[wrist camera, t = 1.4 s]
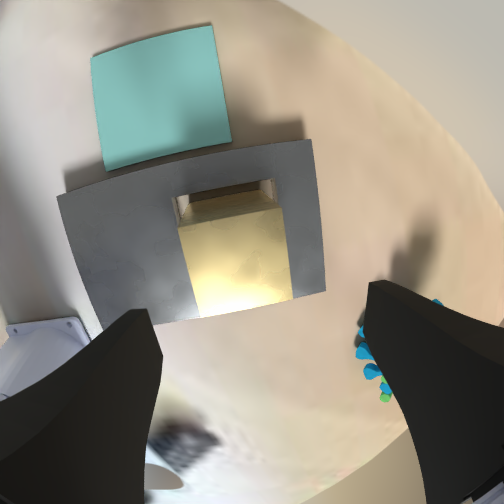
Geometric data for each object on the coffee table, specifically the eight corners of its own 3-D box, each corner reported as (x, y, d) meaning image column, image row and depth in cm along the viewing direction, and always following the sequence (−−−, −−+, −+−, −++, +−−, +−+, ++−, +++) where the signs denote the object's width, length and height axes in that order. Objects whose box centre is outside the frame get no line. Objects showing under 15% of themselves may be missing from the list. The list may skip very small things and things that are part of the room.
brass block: (204, 268, 19) (201, 317, 13) (189, 203, 17) (177, 227, 12) (270, 255, 19) (293, 298, 14) (260, 189, 18) (281, 207, 12)
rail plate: (109, 321, 19) (104, 331, 18) (66, 192, 16) (56, 196, 15) (319, 282, 20) (325, 291, 19) (304, 139, 17) (311, 138, 16)
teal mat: (107, 171, 16) (105, 171, 16) (92, 59, 13) (90, 58, 13) (231, 141, 16) (231, 141, 16) (211, 27, 14) (211, 25, 13)
